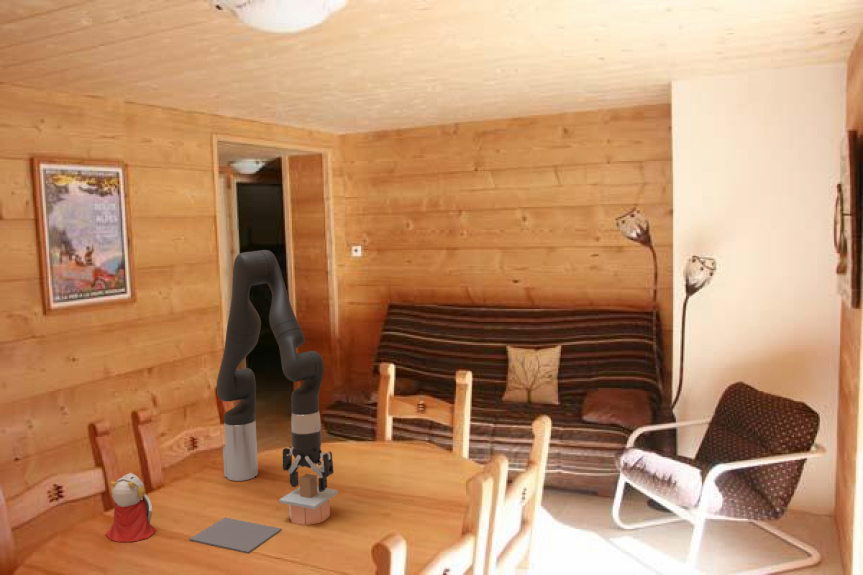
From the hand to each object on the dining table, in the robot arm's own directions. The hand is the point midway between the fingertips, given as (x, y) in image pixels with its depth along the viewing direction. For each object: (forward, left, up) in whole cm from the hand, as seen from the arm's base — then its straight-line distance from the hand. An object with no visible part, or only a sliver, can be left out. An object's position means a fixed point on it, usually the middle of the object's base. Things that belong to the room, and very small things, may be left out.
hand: (308, 488), depth 178 cm
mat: (-11, -16, -8) cm, 21 cm away
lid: (0, 0, -3) cm, 3 cm away
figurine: (-37, -24, -8) cm, 45 cm away
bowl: (0, 0, -8) cm, 8 cm away
